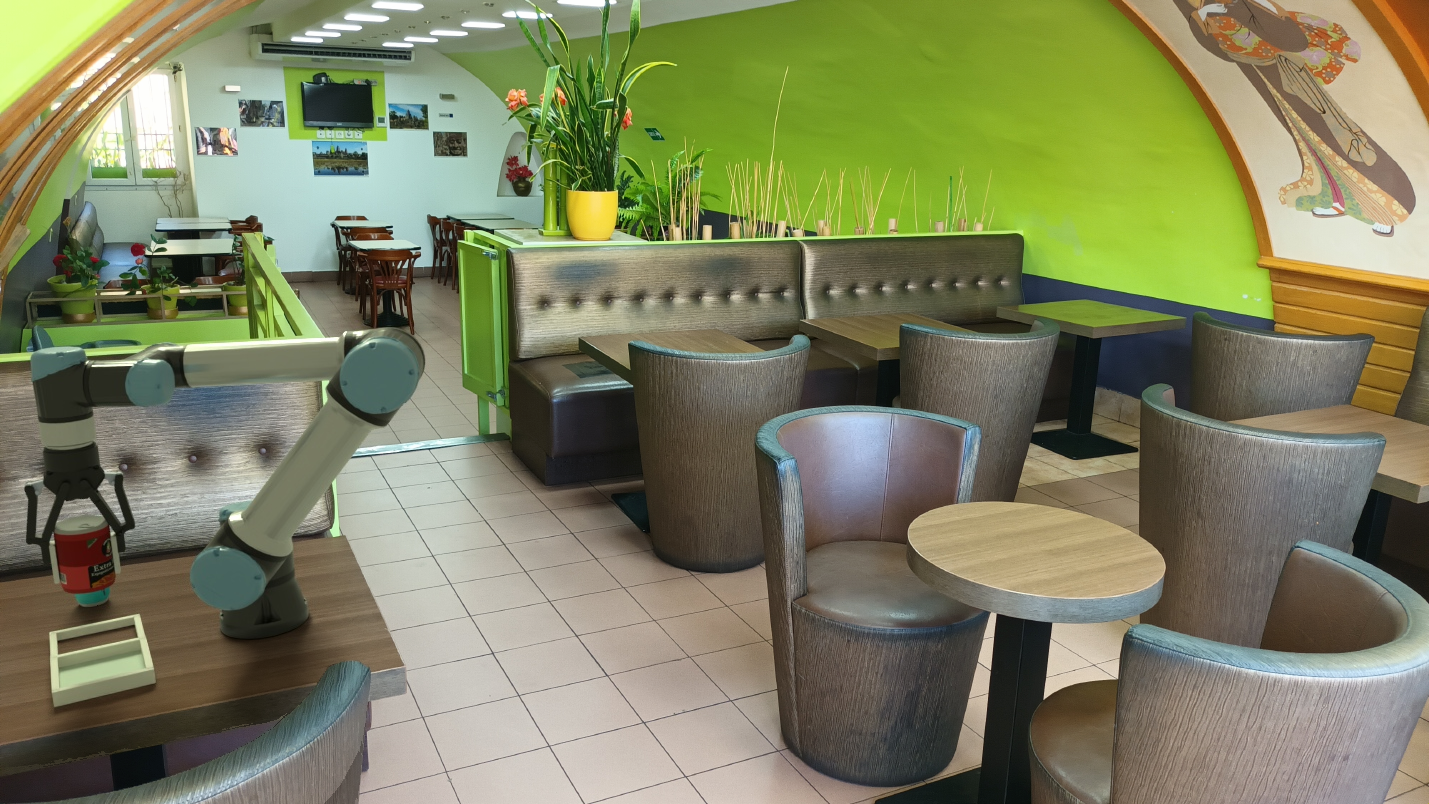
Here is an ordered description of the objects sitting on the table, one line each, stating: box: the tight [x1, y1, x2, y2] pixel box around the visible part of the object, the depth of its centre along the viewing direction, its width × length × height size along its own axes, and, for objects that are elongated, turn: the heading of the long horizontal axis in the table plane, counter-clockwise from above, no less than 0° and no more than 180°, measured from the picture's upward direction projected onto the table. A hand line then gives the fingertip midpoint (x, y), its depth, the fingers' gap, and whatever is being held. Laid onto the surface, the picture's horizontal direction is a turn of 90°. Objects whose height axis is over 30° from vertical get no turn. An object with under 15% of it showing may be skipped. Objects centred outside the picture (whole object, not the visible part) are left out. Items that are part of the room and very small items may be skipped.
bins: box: [49, 613, 157, 708], centre depth 170 cm, size 27×14×2 cm, turn 34°
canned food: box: [52, 514, 117, 595], centre depth 164 cm, size 8×8×11 cm
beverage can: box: [74, 586, 111, 608], centre depth 191 cm, size 6×6×15 cm
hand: (88, 575), depth 165 cm, fingers closed on canned food, 8 cm apart
